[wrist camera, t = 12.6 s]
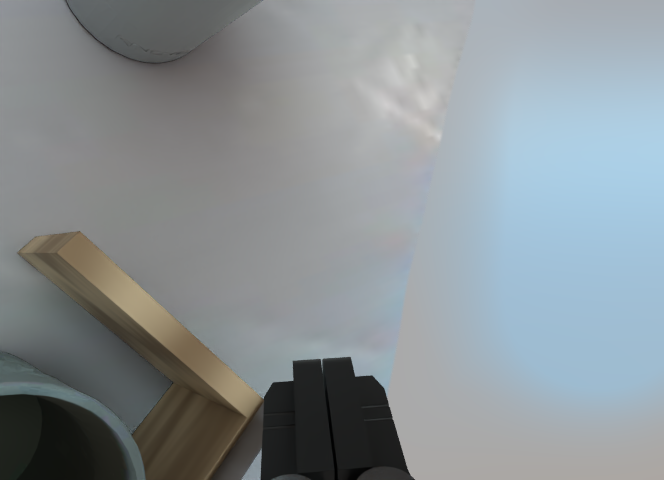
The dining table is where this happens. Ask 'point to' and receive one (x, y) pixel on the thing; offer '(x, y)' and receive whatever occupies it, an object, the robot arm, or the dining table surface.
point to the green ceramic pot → (59, 431)
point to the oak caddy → (162, 368)
